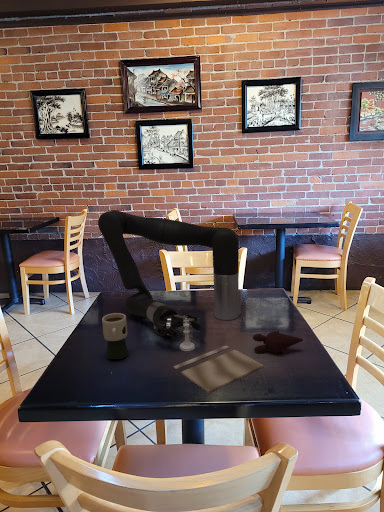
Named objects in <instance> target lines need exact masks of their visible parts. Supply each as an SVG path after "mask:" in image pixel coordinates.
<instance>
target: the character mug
mask: <svg viewBox="0 0 384 512" xmlns="http://www.w3.org/2000/svg"><path fill="white" fill-rule="evenodd" d="M101 322H102V333H103V338H104V340H105V341H107V344H106V345H107V347H106V358H108V359H110V360H122V359H124V358H126V357H127V356H128V348H127V344H126V340H125V338H126V337H128V325H127V323H128V322H127V315H126V314H125V313H120V312H113V313H108V314H105V315H104V316H103V317H102V318H101Z"/></svg>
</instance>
